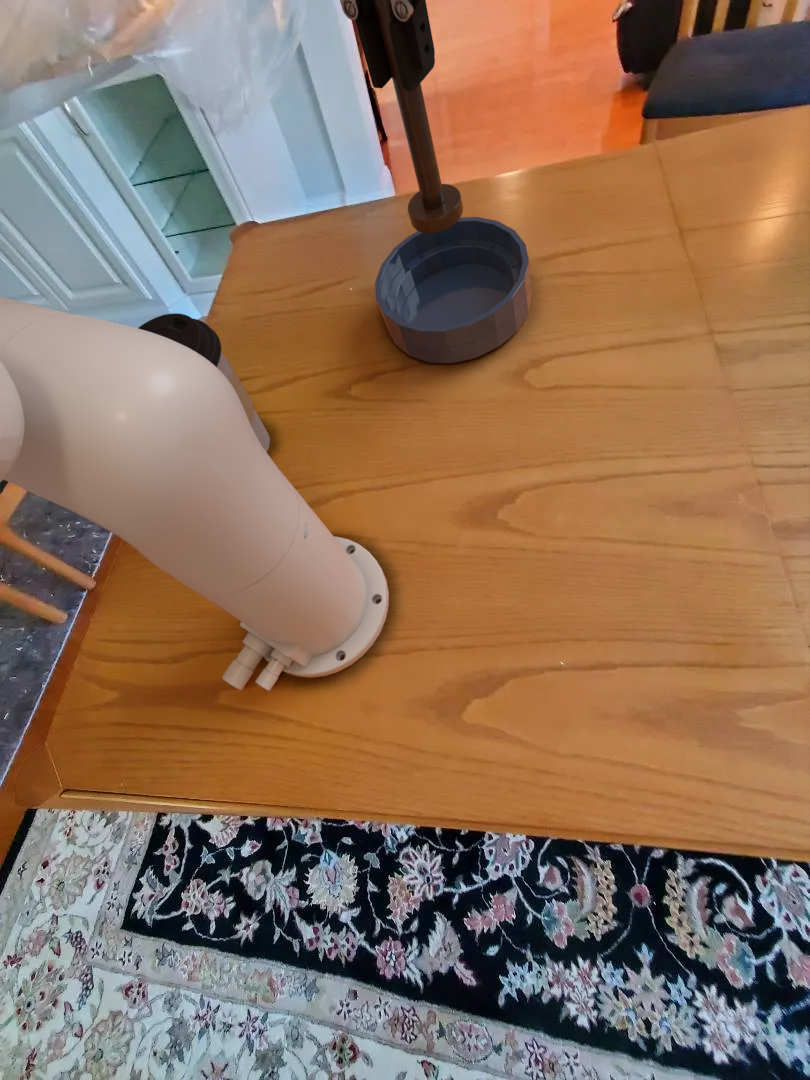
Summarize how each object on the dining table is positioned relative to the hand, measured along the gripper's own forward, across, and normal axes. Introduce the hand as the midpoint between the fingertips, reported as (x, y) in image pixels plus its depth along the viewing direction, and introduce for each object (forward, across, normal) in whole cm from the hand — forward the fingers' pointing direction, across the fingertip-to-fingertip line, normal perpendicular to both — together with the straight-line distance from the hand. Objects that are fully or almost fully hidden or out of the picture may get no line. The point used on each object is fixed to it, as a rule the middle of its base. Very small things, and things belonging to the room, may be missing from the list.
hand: (404, 75), depth 42 cm
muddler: (+11, 0, 0) cm, 11 cm away
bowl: (+25, -3, +3) cm, 25 cm away
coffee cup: (+25, -15, -21) cm, 36 cm away
